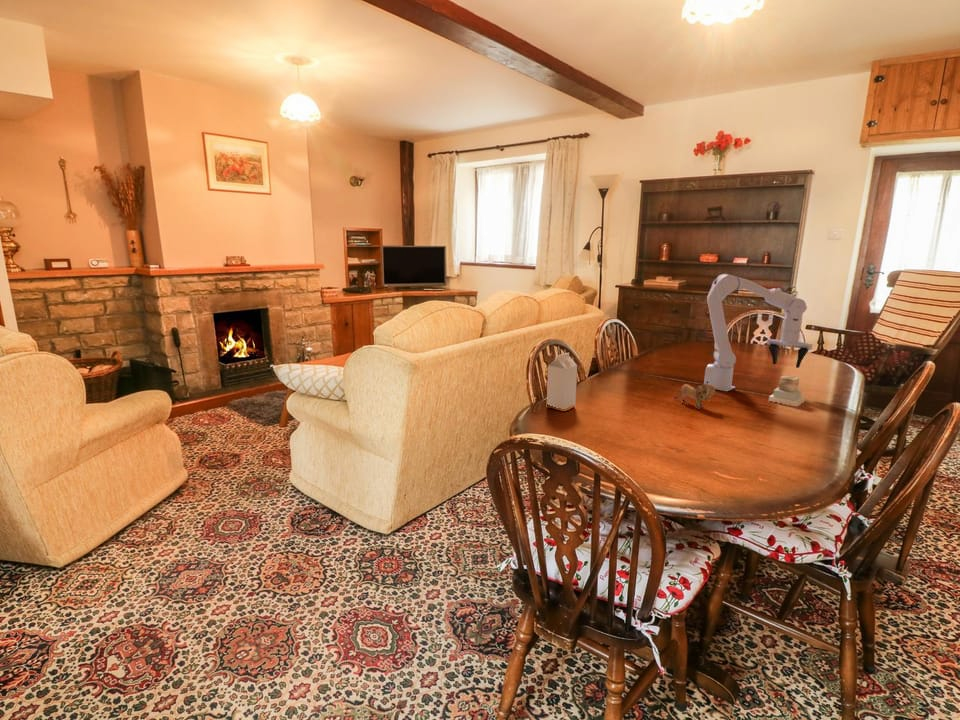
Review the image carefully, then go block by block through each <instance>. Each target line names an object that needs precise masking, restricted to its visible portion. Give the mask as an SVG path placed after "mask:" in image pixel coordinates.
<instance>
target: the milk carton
mask: <svg viewBox="0 0 960 720" xmlns="http://www.w3.org/2000/svg"><path fill="white" fill-rule="evenodd" d="M577 377H578V364H577V363H576V362H575V361H574V360H573V358H572V357H571V356H570V352H565V353H561V354H559V355H558V354H557V355H556V359H555V360H553V361H552V362H551V363H549V364H548V366H547V383H546V384H547V387H546V388H547V389H546V405H547V404H548V405H550V406H553V407H556V408H561V409H566V408H568V407H570V406H572V405H575V406H576V401H577V400H576V399H577V383H578V382H577V380H578V379H577Z"/></svg>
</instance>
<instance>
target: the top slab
mask: <svg viewBox="0 0 960 720" xmlns="http://www.w3.org/2000/svg"><path fill="white" fill-rule="evenodd" d="M772 394H773V397H777V398H782V399H788V400H793V401H796V400H797V399H798V398H800V397H801V396H802V389H798V390H797V391H794V392H788V391H783V390H779V386H777V387H776V388H775V389H773V393H772Z"/></svg>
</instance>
